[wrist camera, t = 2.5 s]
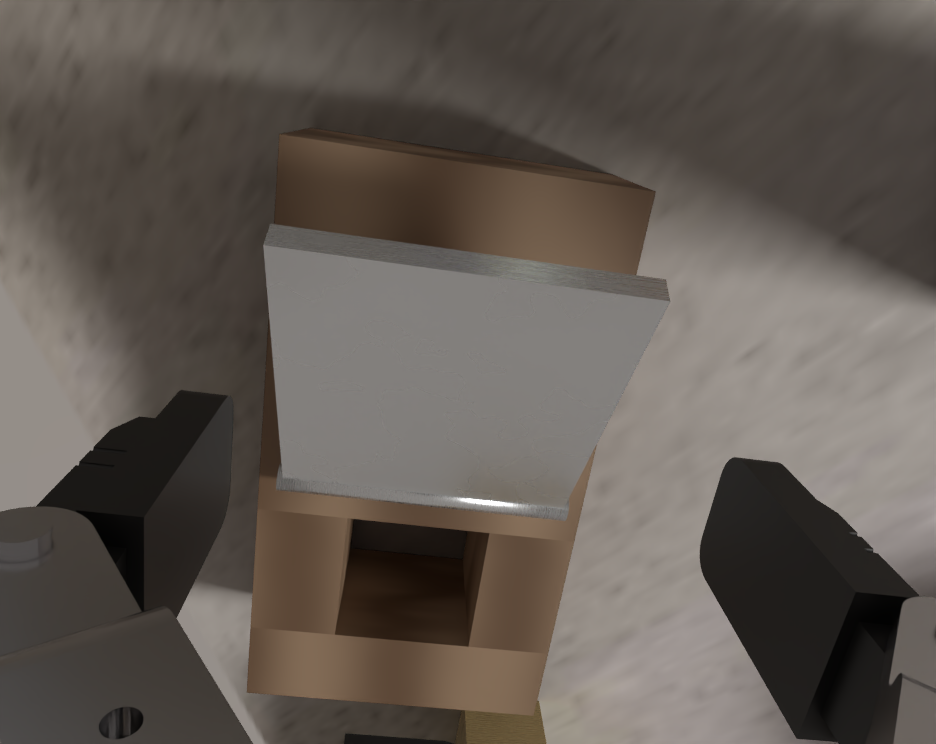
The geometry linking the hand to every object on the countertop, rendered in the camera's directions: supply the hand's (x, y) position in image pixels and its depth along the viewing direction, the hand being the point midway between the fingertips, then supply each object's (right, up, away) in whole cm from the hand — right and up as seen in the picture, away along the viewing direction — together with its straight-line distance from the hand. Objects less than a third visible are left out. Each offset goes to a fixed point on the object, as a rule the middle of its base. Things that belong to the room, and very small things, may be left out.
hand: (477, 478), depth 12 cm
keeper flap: (-1, +1, +11) cm, 11 cm away
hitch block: (-2, 0, +20) cm, 21 cm away
